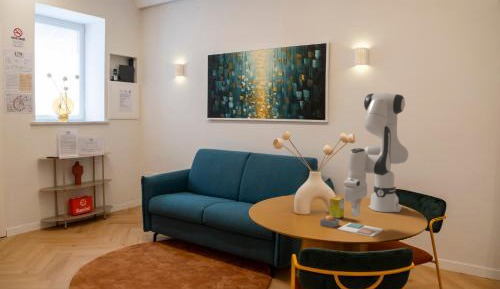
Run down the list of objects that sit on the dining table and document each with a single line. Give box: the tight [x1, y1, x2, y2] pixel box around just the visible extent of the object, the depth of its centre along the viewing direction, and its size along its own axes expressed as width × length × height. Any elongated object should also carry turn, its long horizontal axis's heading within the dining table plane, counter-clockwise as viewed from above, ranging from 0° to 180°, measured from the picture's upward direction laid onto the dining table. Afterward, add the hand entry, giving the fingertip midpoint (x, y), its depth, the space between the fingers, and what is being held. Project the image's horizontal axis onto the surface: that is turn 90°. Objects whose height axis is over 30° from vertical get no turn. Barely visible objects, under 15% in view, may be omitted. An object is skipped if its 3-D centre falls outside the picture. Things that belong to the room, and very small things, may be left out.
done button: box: [325, 215, 334, 221], centre depth 207 cm, size 4×4×3 cm
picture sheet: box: [337, 222, 384, 238], centre depth 199 cm, size 14×18×1 cm
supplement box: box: [329, 196, 345, 220], centre depth 222 cm, size 6×6×11 cm
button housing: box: [319, 217, 340, 229], centre depth 207 cm, size 7×7×3 cm
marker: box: [351, 198, 362, 217], centre depth 202 cm, size 4×4×10 cm
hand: (356, 207), depth 202 cm, fingers closed on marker, 4 cm apart
